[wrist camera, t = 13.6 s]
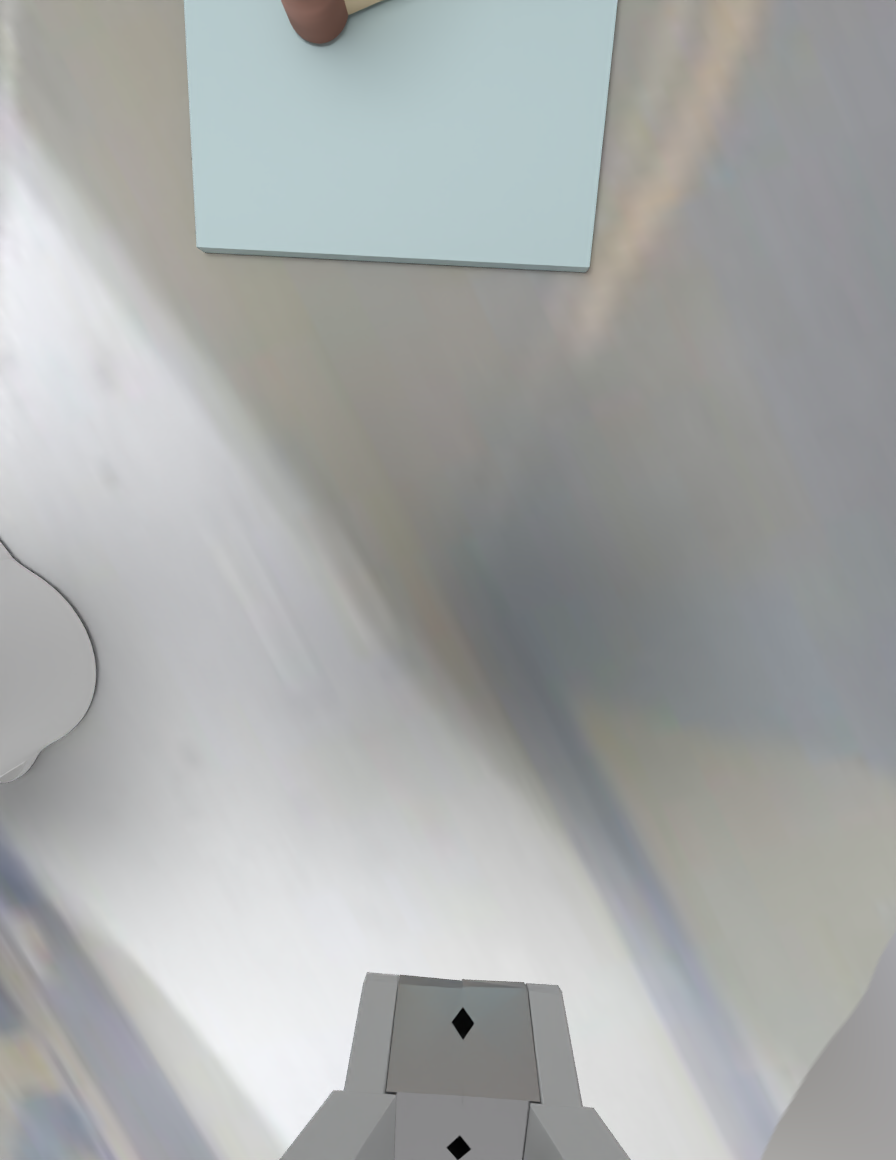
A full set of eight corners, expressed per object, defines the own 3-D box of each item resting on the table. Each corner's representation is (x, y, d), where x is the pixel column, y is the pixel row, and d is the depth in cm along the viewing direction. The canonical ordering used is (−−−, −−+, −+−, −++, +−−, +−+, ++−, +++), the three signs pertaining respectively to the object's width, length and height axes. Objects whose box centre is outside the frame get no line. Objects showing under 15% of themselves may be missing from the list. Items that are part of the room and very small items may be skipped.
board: (204, 252, 33) (196, 246, 32) (179, -257, 27) (169, -283, 26) (585, 272, 32) (589, 267, 31) (638, -238, 27) (645, -263, 26)
